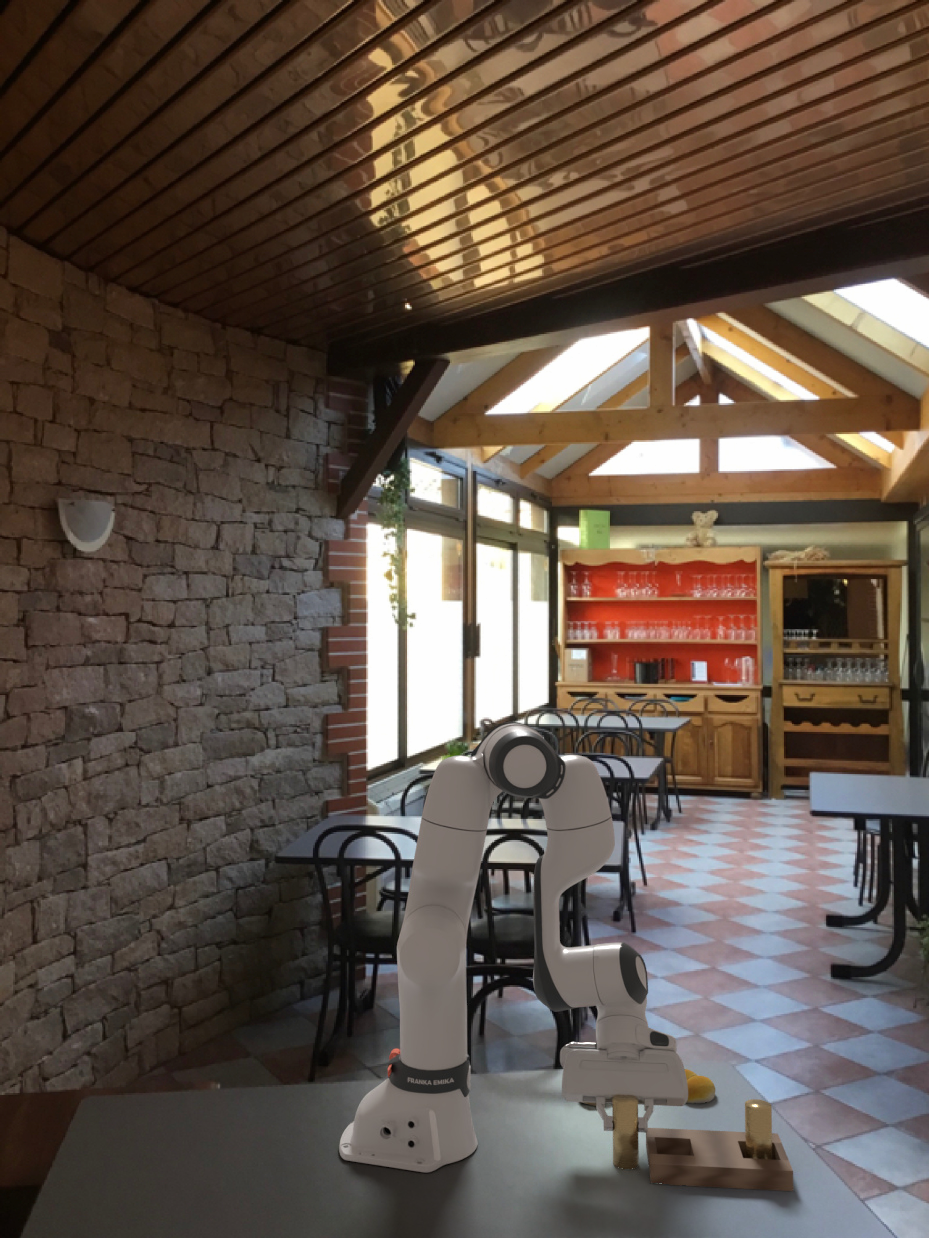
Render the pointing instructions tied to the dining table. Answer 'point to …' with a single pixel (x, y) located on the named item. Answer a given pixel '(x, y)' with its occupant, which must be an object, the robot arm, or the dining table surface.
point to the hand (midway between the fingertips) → (625, 1130)
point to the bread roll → (699, 1088)
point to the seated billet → (758, 1129)
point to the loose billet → (625, 1131)
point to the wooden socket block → (714, 1160)
